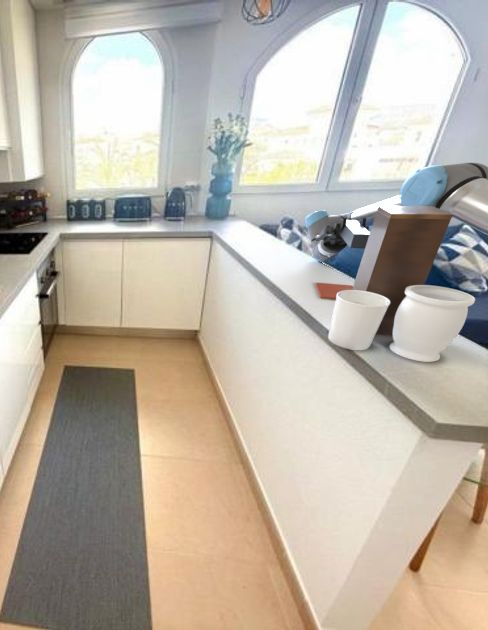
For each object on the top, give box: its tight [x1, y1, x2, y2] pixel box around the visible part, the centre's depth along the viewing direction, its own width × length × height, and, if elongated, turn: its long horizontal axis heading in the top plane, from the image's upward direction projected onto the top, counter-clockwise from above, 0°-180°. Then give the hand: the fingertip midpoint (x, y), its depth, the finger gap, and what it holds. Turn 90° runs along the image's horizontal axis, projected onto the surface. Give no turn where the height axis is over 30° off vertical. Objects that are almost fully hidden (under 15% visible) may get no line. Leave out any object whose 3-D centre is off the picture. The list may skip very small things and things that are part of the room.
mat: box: [315, 282, 353, 300], centre depth 111 cm, size 10×13×1 cm
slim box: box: [339, 220, 370, 250], centre depth 103 cm, size 4×20×4 cm, turn 153°
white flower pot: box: [327, 290, 390, 351], centre depth 83 cm, size 10×10×12 cm
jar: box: [389, 284, 476, 363], centre depth 76 cm, size 11×10×15 cm
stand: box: [352, 206, 453, 337], centre depth 85 cm, size 10×11×30 cm
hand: (354, 222), depth 104 cm, fingers closed on slim box, 4 cm apart
